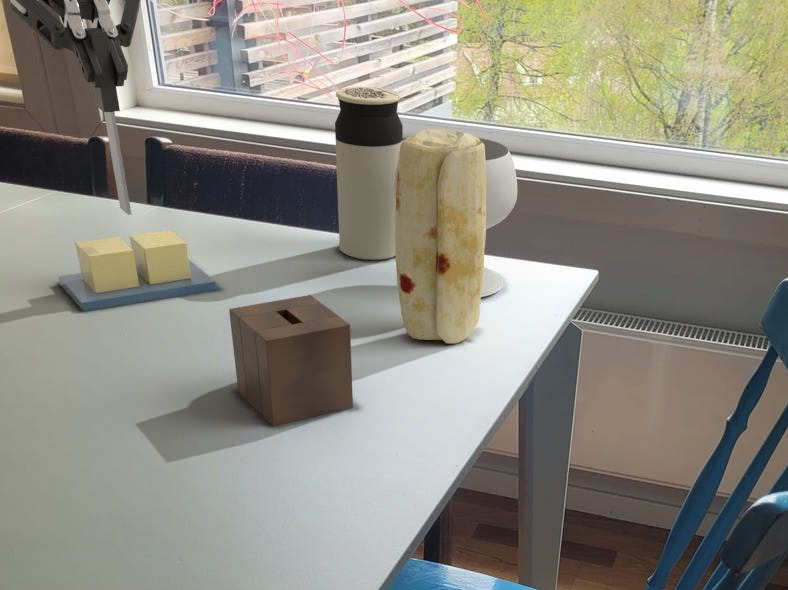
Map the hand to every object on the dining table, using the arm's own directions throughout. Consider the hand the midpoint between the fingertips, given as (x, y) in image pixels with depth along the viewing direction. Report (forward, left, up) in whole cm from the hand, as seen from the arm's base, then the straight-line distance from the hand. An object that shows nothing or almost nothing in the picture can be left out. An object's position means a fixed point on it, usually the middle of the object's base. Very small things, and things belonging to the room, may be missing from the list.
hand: (110, 81), depth 98 cm
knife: (-1, +2, -13) cm, 13 cm away
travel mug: (+25, +17, -21) cm, 37 cm away
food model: (+33, -10, -21) cm, 41 cm away
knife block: (+19, -26, -21) cm, 39 cm away
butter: (-1, +2, -21) cm, 21 cm away
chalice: (+35, +6, -21) cm, 41 cm away
